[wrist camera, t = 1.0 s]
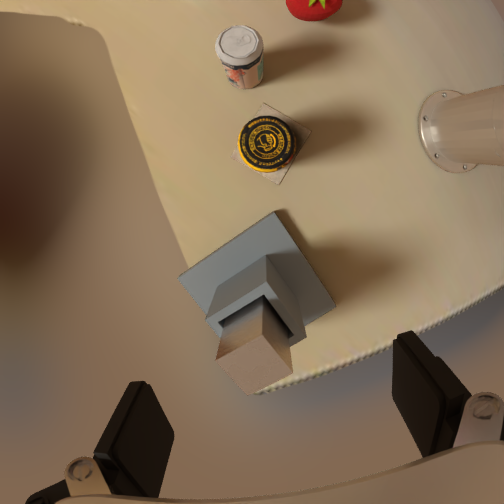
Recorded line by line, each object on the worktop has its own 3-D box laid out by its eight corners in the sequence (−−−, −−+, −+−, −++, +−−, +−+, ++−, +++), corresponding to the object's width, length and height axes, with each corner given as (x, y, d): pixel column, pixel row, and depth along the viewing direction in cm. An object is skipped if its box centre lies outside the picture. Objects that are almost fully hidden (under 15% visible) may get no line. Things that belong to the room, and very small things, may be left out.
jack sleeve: (273, 210, 42) (277, 227, 31) (334, 302, 45) (353, 343, 34) (180, 274, 45) (155, 309, 34) (244, 354, 48) (239, 403, 37)
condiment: (230, 157, 40) (216, 154, 29) (263, 103, 38) (262, 79, 27) (278, 185, 41) (284, 192, 30) (311, 131, 39) (329, 118, 27)
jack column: (263, 268, 42) (262, 333, 26) (284, 298, 43) (294, 373, 27) (231, 289, 43) (213, 360, 27) (253, 317, 44) (247, 396, 28)
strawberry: (342, 24, 34) (361, -7, 25) (296, 41, 35) (305, 9, 26) (321, -6, 33) (333, -41, 23) (275, 10, 34) (277, -26, 25)
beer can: (222, 65, 37) (207, 31, 25) (255, 53, 36) (252, 15, 25) (234, 95, 38) (223, 69, 26) (268, 83, 37) (270, 53, 26)
